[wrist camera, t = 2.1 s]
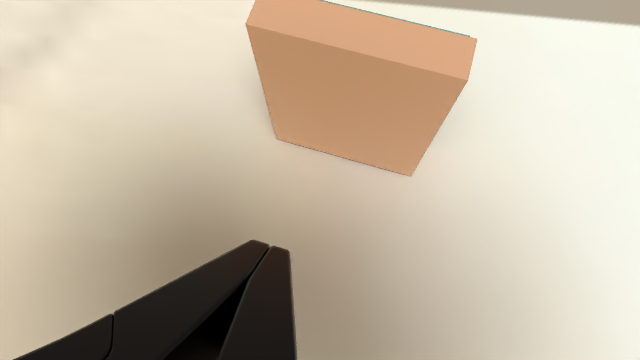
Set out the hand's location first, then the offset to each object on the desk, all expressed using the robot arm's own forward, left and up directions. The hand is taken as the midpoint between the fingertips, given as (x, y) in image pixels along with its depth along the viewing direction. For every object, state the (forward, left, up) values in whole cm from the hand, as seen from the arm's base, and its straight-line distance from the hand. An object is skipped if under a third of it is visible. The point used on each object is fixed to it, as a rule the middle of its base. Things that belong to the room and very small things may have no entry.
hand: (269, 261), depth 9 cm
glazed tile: (+6, -4, -11) cm, 14 cm away
